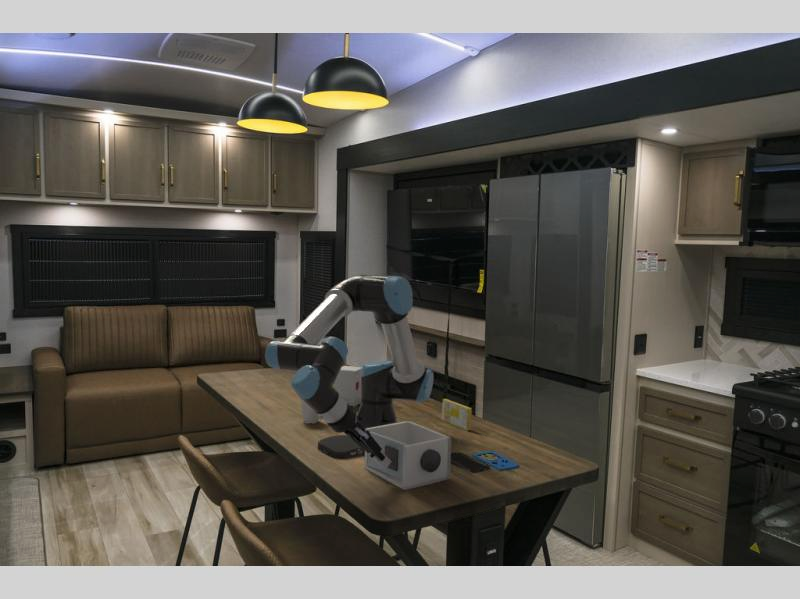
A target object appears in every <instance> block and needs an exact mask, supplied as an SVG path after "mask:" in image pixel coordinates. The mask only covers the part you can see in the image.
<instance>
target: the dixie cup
mask: <svg viewBox="0 0 800 599" xmlns="http://www.w3.org/2000/svg"><path fill="white" fill-rule="evenodd" d="M300 405H301V414H302V416H301V417H302V422H303V421H304V422H307V423H306V424H309V423H312V424H315V423H314V422H317V423H319V420H320V419H319V416H320V415H318V414H317V413H316V412H315V411H314V410H313V409H312V408H311V407H310V406H309V405H308V404H307V403H306V402H305V401H304V400H303V399H301V398H300ZM304 422H303V423H304Z"/></svg>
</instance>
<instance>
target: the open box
mask: <svg viewBox="0 0 800 599" xmlns="http://www.w3.org/2000/svg"><path fill="white" fill-rule="evenodd" d="M364 430H365V431H366V430H367V431H369V432H371V431H372V432H375V433H377V434H380V435H383V436H386V437H388V438H391V439H394V440H396V441H399V442H402V443H405V444H407V445H406V446H403V480H401V479H399V478H396V477H394V476H392V475H389V474H387V473H385V472H382V471H380V470H378V469H375V468H373V467H371V466H368V453H367V452H366V451H365V454H364V469H365V470H367V471H368V472H371V473H372V474H374V475H376V476H378V477H380V478H382V479H383V480H385V481H387V482H388V483H390V484H392V485H394V486H396V487H398V488H400V489H401V490H403V491H409V490H414V489H417V488H419V487H424V486H428V485H431V484H435V483H439V482H443V481H447V480H450V479H451V453H452V437H450V436H448V435H445V434H444V433H440V432H438V431H435V430H433V429H431V428H429V427H426V426H423V425H420V424H418V423H415V422H413V421H411V420H406V421H401V422H397V423H393V424H388V425H382V426H377V427H371V428H365V429H364Z"/></svg>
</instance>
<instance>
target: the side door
mask: <svg viewBox="0 0 800 599" xmlns="http://www.w3.org/2000/svg"><path fill="white" fill-rule="evenodd" d="M369 433H370V434H371V436H372V437H373V438H374V440H375V441H376V442H377V443H378V444H379V446H380V447H381V448H382V450H381V451H382V452H383V453H384V454H385V455H386V456H387V457H388V458H389V459H390V460H391V461H392V462H391V463H390V464H389V466H388V467H387V468H386V469H384V468H382V467H381V465H380V464H379V463H378V462H377V461H376V460H375V459H374V458H371V457H370V453H368V466H371V467H373V468H375V469H378V470H380V471H382V472H385V473H387V474H389V475H392V476H394V477H396V478H399V479H401V480H403V446H406V445H407V444H405V443H402V442H399V441H396V440H394V439H391V438H388V437H386V436H383V435H380V434H377V433H375V432H372V431H371V432H369Z"/></svg>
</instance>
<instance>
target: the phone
mask: <svg viewBox="0 0 800 599" xmlns="http://www.w3.org/2000/svg"><path fill="white" fill-rule="evenodd" d="M450 465H453V466H455V467H458V468H459V467H460V469H462V470H464V471H466V472H468V471H469V472H468V473H471V472H472V474H473V473H474V472H475V473H479V472H482V471H486V470H490V467H491V466H490V465H488V464H486V463H484V462H482V461H480V460H478V459H477V458H475V457H473V456H469V455H468V454H467V455H466V454H465V453H462V452H460V451H459V452H451V463H450ZM485 469H486V470H485ZM481 470H482V471H481ZM478 471H479V472H478Z"/></svg>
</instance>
